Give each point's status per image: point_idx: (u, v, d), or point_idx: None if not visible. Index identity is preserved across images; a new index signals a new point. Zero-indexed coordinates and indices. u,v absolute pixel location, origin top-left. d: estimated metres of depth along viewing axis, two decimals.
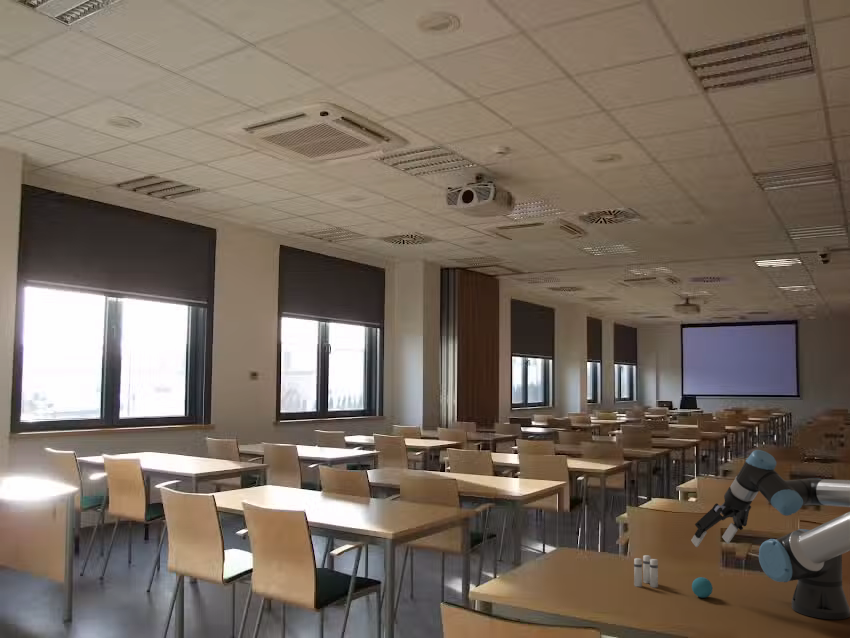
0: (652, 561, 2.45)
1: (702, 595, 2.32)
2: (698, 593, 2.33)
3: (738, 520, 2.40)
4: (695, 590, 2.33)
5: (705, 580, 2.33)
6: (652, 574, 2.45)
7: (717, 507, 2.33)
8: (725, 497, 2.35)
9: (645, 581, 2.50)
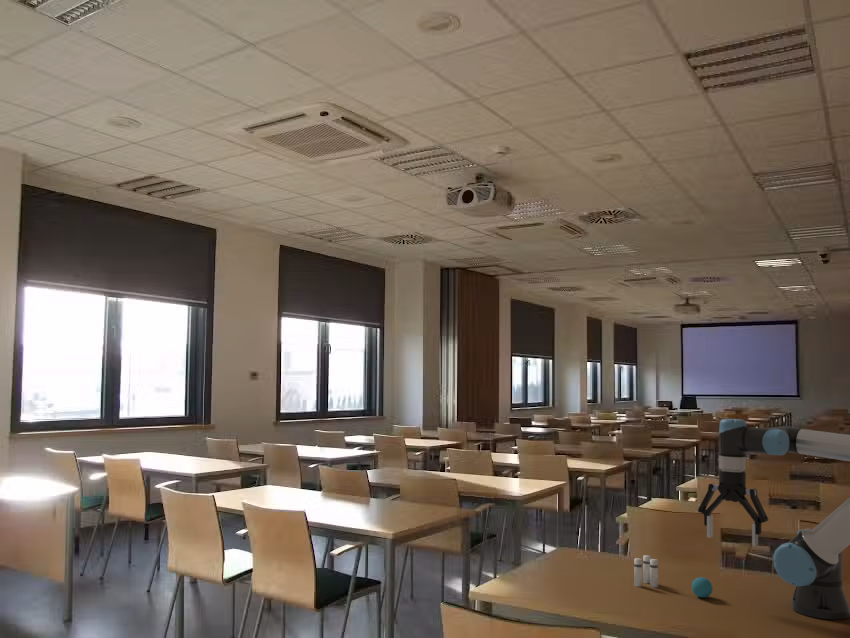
0: (652, 561, 2.45)
1: (702, 595, 2.32)
2: (698, 593, 2.33)
3: (747, 509, 2.26)
4: (695, 590, 2.33)
5: (705, 580, 2.33)
6: (652, 574, 2.45)
7: None
8: None
9: (645, 581, 2.50)
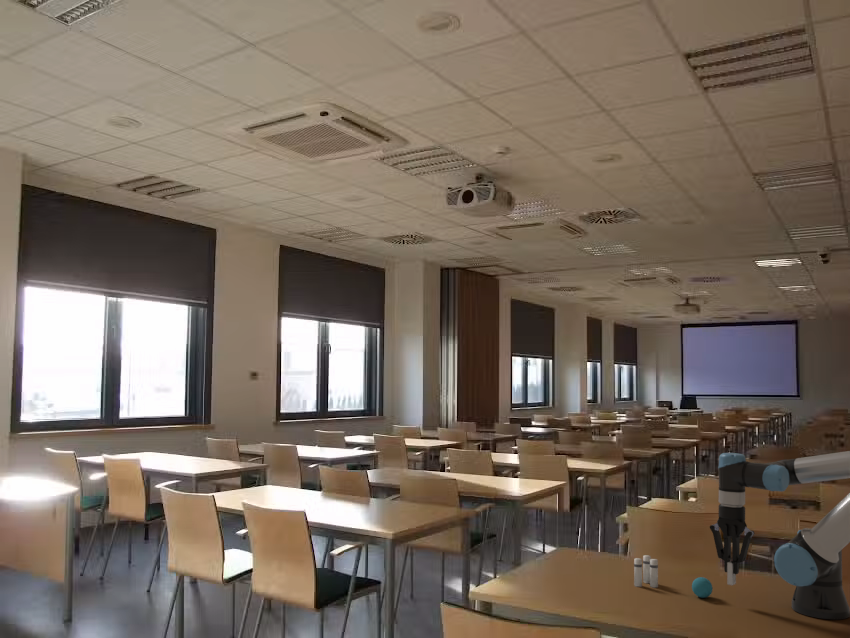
0: (652, 561, 2.45)
1: (702, 595, 2.32)
2: (698, 593, 2.33)
3: (734, 546, 2.28)
4: (695, 590, 2.33)
5: (705, 580, 2.33)
6: (652, 574, 2.45)
7: None
8: None
9: (645, 581, 2.50)
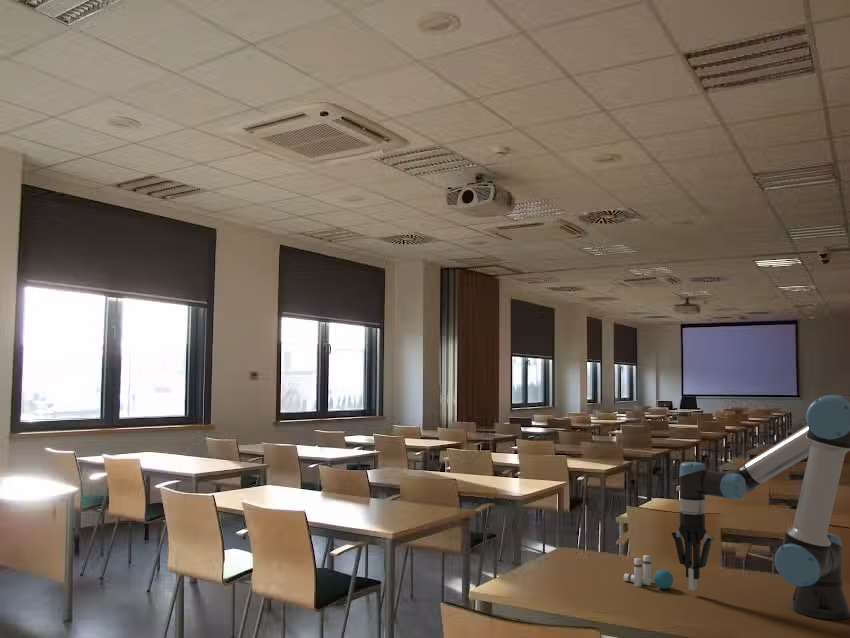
0: (624, 578, 2.51)
1: (654, 578, 2.43)
2: (656, 578, 2.42)
3: (694, 552, 2.36)
4: (659, 578, 2.41)
5: None
6: None
7: None
8: None
9: None
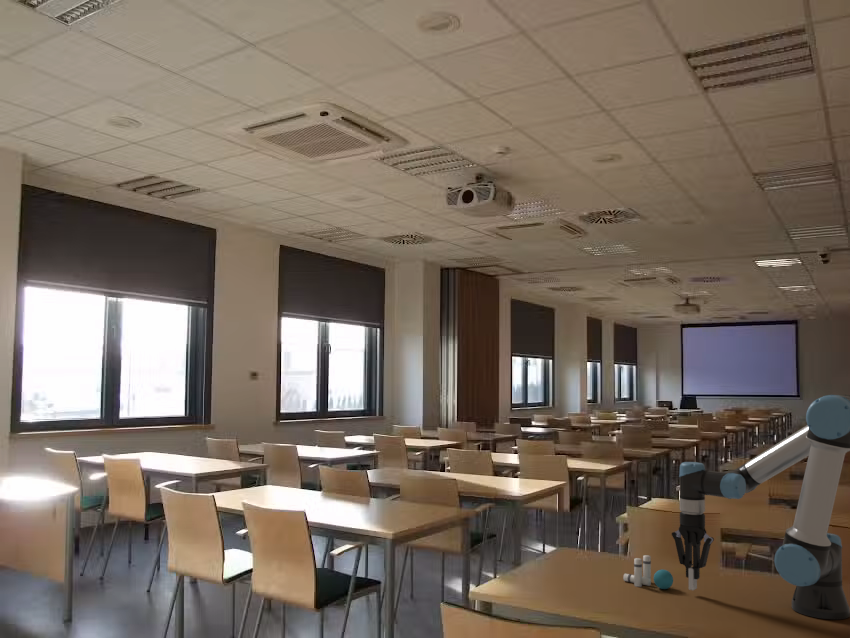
0: (624, 578, 2.50)
1: (654, 578, 2.43)
2: (656, 578, 2.42)
3: (694, 552, 2.36)
4: (659, 578, 2.41)
5: None
6: None
7: None
8: None
9: None
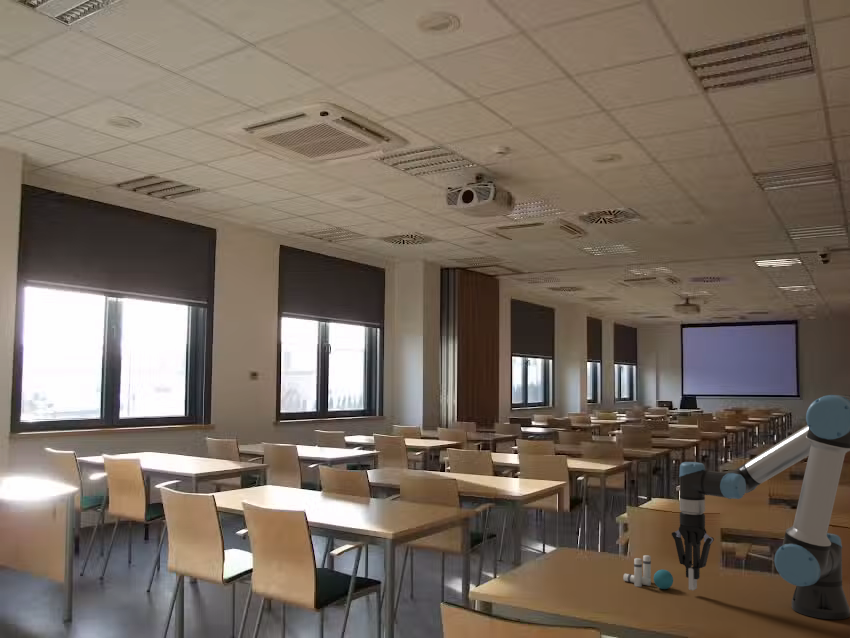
0: (624, 578, 2.50)
1: (654, 578, 2.43)
2: (656, 578, 2.42)
3: (694, 552, 2.36)
4: (659, 578, 2.41)
5: None
6: None
7: None
8: None
9: None
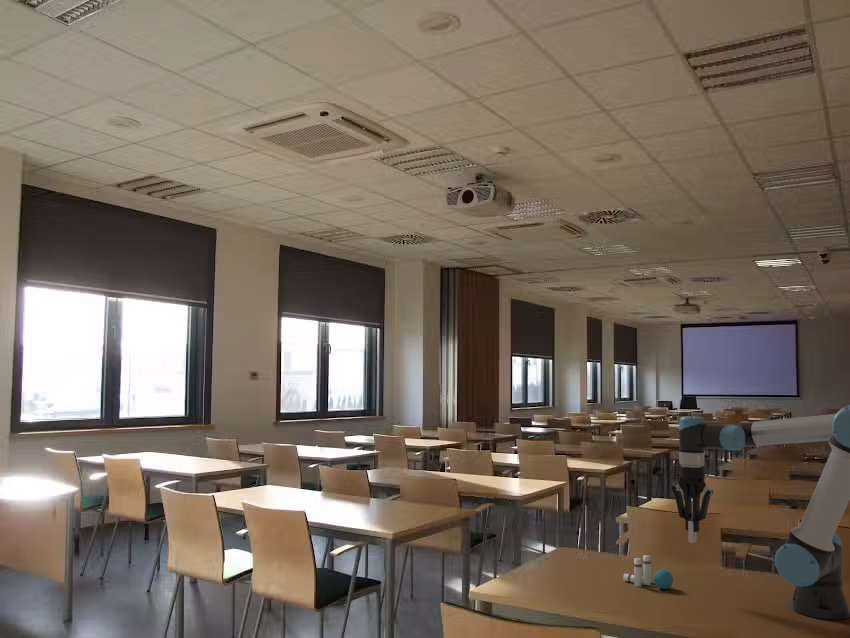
0: (624, 578, 2.50)
1: (654, 578, 2.43)
2: (656, 578, 2.42)
3: (694, 505, 2.37)
4: (659, 578, 2.41)
5: None
6: None
7: None
8: None
9: None
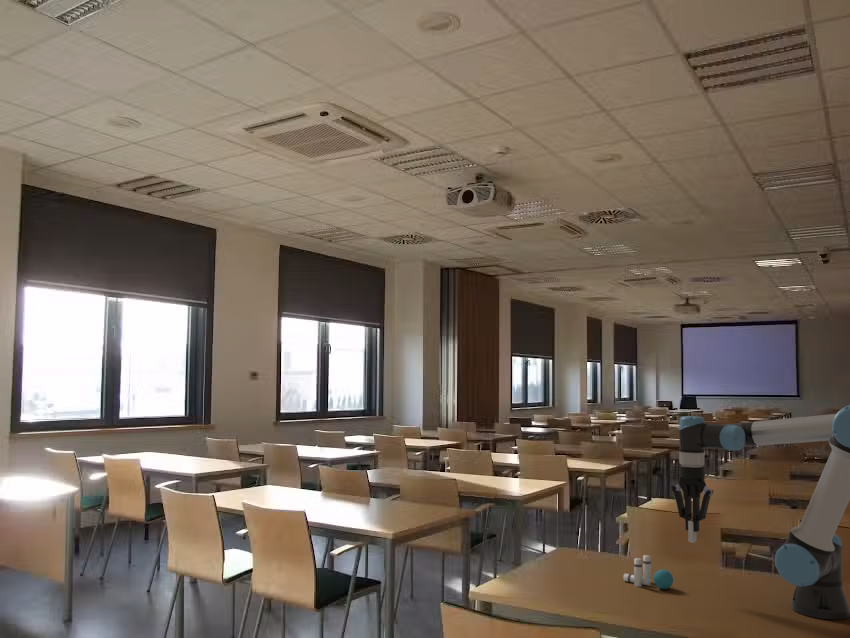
0: (624, 578, 2.50)
1: (654, 578, 2.43)
2: (656, 578, 2.42)
3: (694, 505, 2.37)
4: (659, 578, 2.41)
5: None
6: None
7: None
8: None
9: None
